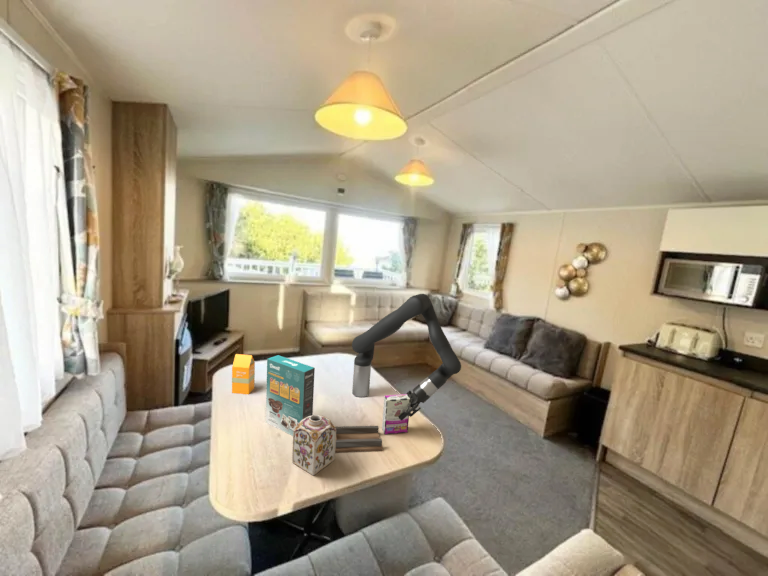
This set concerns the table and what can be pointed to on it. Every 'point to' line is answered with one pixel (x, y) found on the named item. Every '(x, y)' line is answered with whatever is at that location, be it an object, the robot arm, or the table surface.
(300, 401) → the cake mix box
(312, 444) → the decorative jar
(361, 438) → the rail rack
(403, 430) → the candy bar box
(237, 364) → the orange juice
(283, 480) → the table surface
